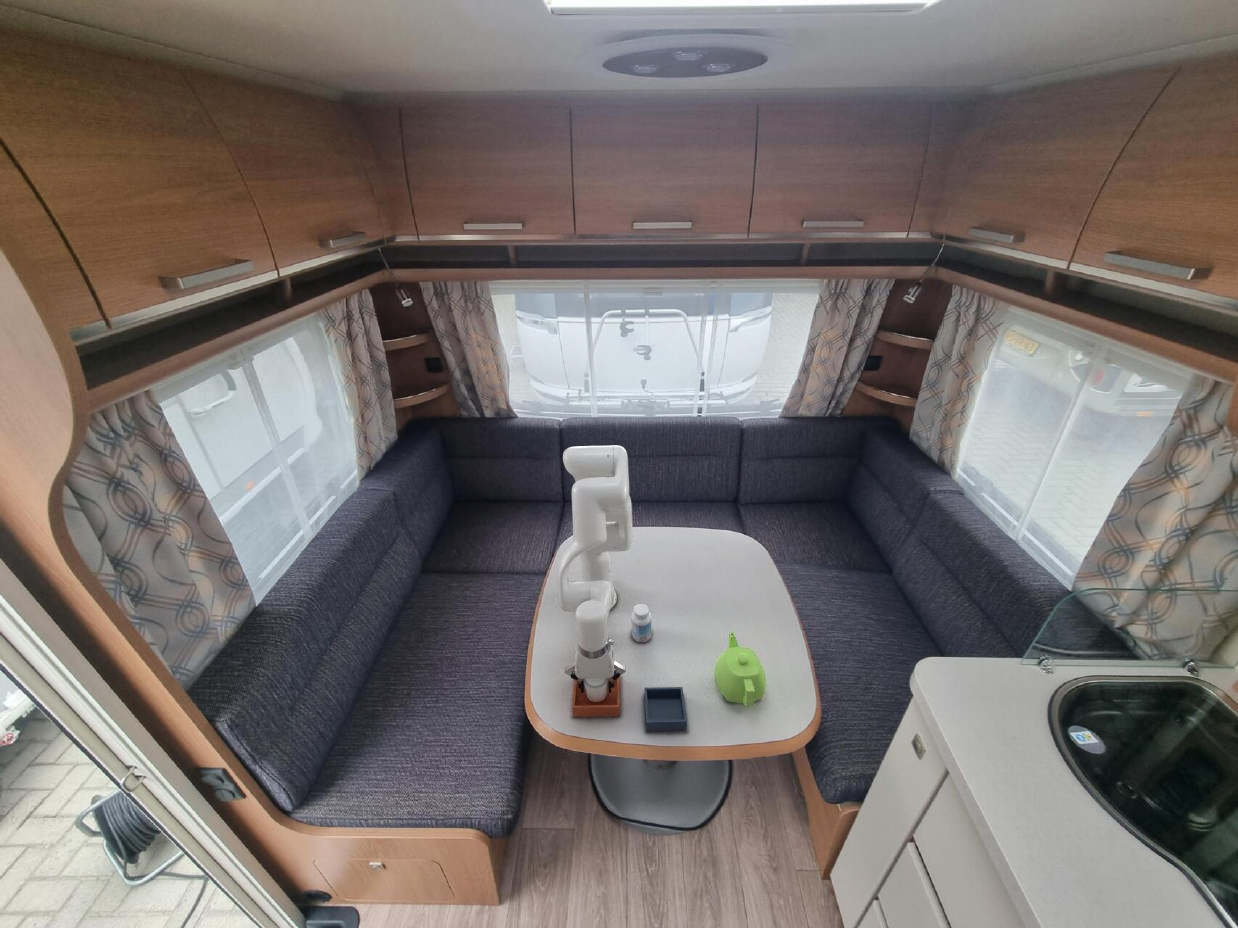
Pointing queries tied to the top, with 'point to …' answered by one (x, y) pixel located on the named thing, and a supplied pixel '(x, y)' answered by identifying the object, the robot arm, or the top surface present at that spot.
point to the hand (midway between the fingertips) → (596, 687)
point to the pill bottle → (641, 623)
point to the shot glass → (596, 688)
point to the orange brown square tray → (596, 703)
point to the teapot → (740, 674)
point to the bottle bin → (665, 709)
